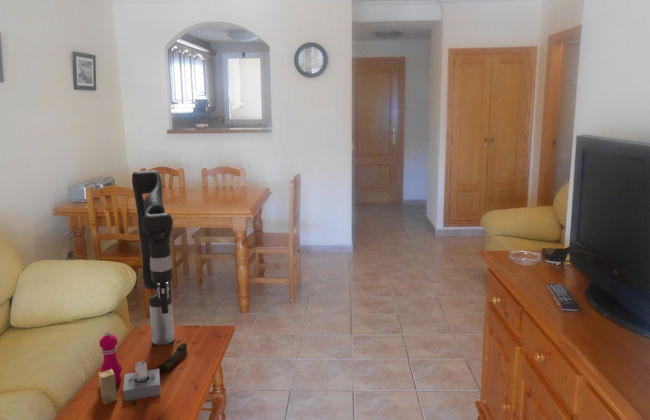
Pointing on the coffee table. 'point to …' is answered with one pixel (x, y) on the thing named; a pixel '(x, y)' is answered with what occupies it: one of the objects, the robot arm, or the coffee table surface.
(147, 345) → the coffee table surface
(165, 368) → the hand tool
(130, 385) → the bore block
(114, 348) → the pepper mill
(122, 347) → the coffee table surface
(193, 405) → the coffee table surface
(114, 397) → the pale wooden block
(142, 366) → the round bit
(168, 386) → the coffee table surface
